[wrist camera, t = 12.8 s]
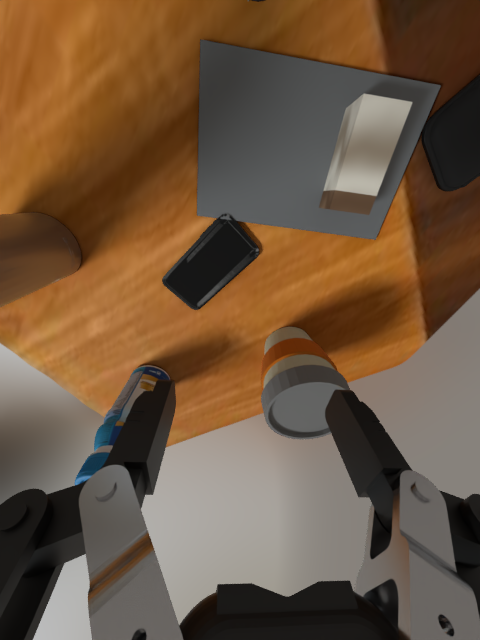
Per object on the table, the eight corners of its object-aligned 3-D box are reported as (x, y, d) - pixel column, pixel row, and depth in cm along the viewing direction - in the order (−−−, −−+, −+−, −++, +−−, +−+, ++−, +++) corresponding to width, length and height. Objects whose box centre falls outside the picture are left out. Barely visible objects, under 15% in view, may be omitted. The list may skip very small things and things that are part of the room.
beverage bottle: (127, 363, 44) (54, 472, 26) (168, 363, 44) (122, 472, 26) (137, 391, 48) (79, 501, 31) (174, 391, 48) (138, 501, 31)
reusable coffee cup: (324, 360, 43) (361, 429, 30) (266, 376, 46) (277, 447, 33) (313, 309, 37) (352, 368, 24) (246, 330, 40) (250, 395, 27)
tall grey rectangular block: (345, 108, 24) (363, 93, 20) (387, 115, 24) (412, 102, 21) (318, 207, 29) (329, 209, 25) (353, 212, 29) (369, 215, 26)
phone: (262, 252, 32) (195, 312, 37) (261, 250, 33) (197, 309, 38) (225, 208, 29) (158, 280, 34) (225, 208, 30) (160, 278, 35)
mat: (197, 215, 30) (196, 215, 29) (201, 43, 22) (200, 39, 21) (373, 238, 31) (375, 239, 31) (436, 87, 23) (441, 85, 23)
